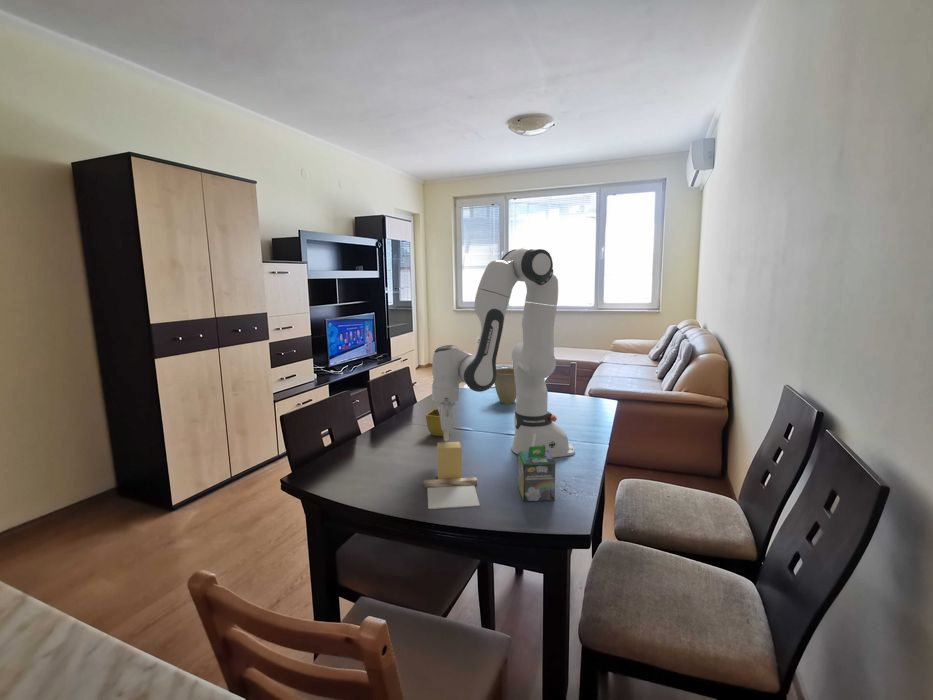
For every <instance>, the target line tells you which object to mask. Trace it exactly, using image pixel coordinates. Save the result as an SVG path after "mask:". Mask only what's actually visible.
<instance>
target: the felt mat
mask: <svg viewBox="0 0 933 700" xmlns="http://www.w3.org/2000/svg"><path fill="white" fill-rule="evenodd" d="M475 486H476V485H465V486H447V487H430V488H426V489H427V508H428V510H436V509H437V510H438V509H440V510H441V509H454V508H455V509H456V508H457V509H459V508H471V507H473V508H474V507H480V506H481V505H480V504H481V503H480V502H479V497H478V495H477V490H476V487H475Z"/></svg>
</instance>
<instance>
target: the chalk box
mask: <svg viewBox="0 0 933 700" xmlns="http://www.w3.org/2000/svg"><path fill="white" fill-rule="evenodd" d="M534 450H537V451H534ZM517 455H518V458H517V459H518V460H517V462H518V465H517V466H518V468H517V469H518V490H519V492H520V496H521V498H522V501H523V502H549V501H550V502H551V501H552V502H554V501H555V500H556V499H555V498H556V495H555V493H556V489H555V488H556V461H555V460H554V459H555V458H552V456H551V454H550V453H549V451H548V450H545V446H533V447H529V451H522V452H519V453H518V454H517ZM553 500H554V501H553Z"/></svg>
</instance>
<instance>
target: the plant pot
mask: <svg viewBox="0 0 933 700" xmlns="http://www.w3.org/2000/svg"><path fill="white" fill-rule="evenodd" d="M496 372H497V376H496V380H495V383H494V384H493V385H494V388H495V391H496V394H497V397H498V401H499V403H501V404H507V405H509V404H513V403H516V402H515V401H516V384H515V377H514V367H513V368H511V367H509V368H508V367H506V368H505V367H503V368H496Z"/></svg>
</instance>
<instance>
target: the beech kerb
mask: <svg viewBox="0 0 933 700" xmlns="http://www.w3.org/2000/svg"><path fill="white" fill-rule="evenodd" d="M470 485H474V486H476V485H477V486H478V478H477V477H476V476H475V477H474V476H473V477H462V478H453V479H438V478H437V479H436V478H435V479H424V480H423V488H424V489H425V488H426V489H427V488H435V487H452V486H470Z"/></svg>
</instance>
